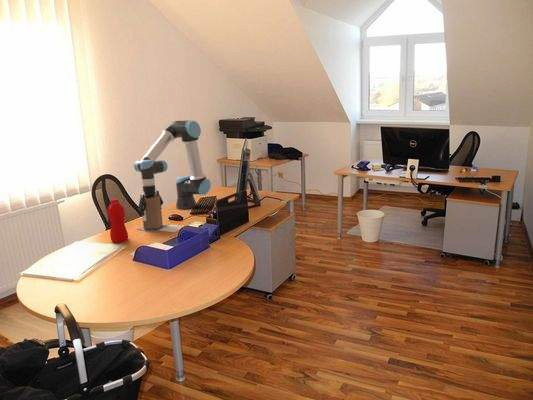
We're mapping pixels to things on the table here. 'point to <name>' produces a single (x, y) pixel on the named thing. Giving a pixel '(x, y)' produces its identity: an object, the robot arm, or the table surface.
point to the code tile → (153, 229)
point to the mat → (172, 228)
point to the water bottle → (117, 221)
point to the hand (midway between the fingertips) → (152, 217)
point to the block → (153, 213)
